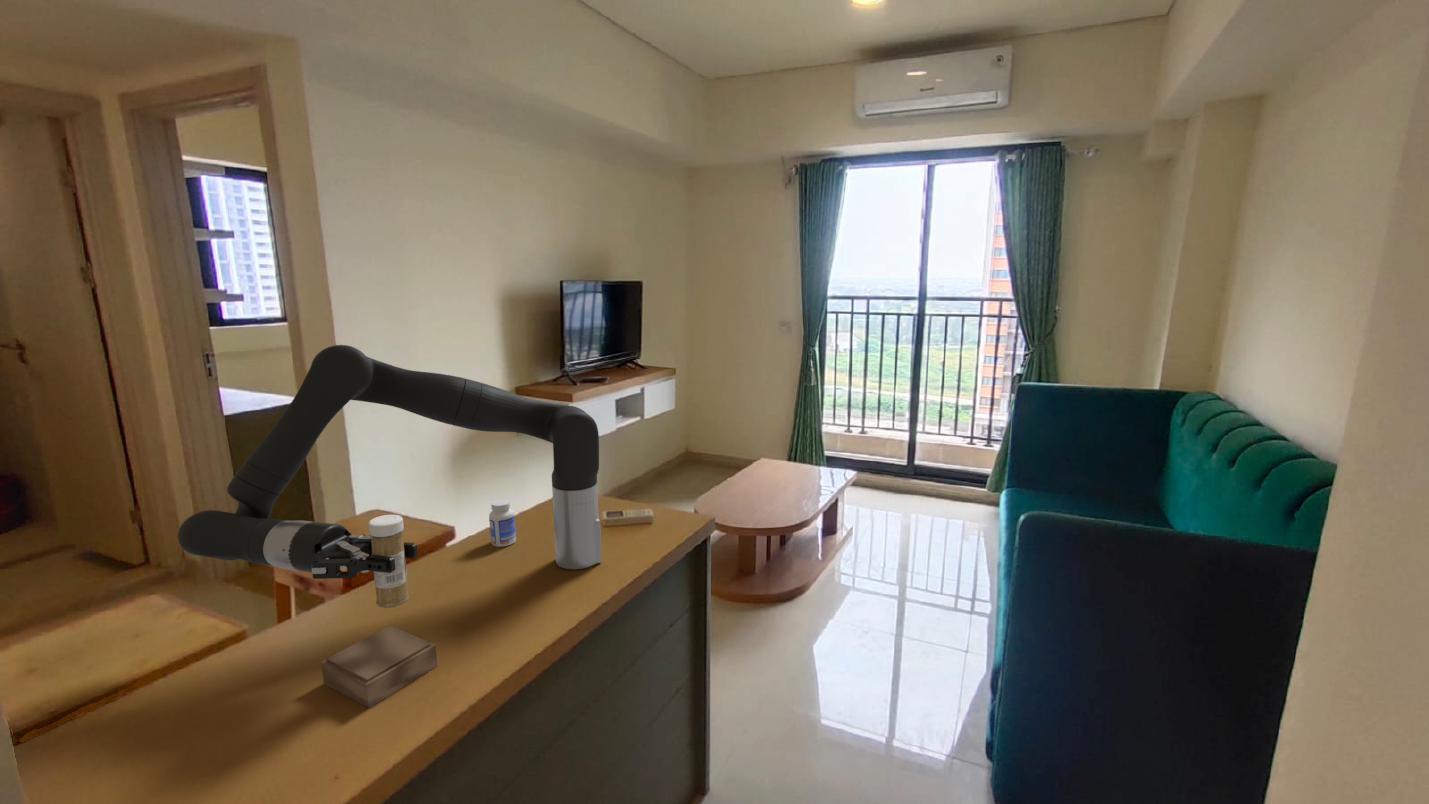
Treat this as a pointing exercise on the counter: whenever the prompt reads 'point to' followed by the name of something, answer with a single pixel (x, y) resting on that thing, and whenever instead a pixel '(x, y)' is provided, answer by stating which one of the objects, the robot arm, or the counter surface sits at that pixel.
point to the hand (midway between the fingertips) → (404, 558)
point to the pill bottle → (502, 524)
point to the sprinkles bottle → (390, 544)
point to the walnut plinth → (379, 665)
